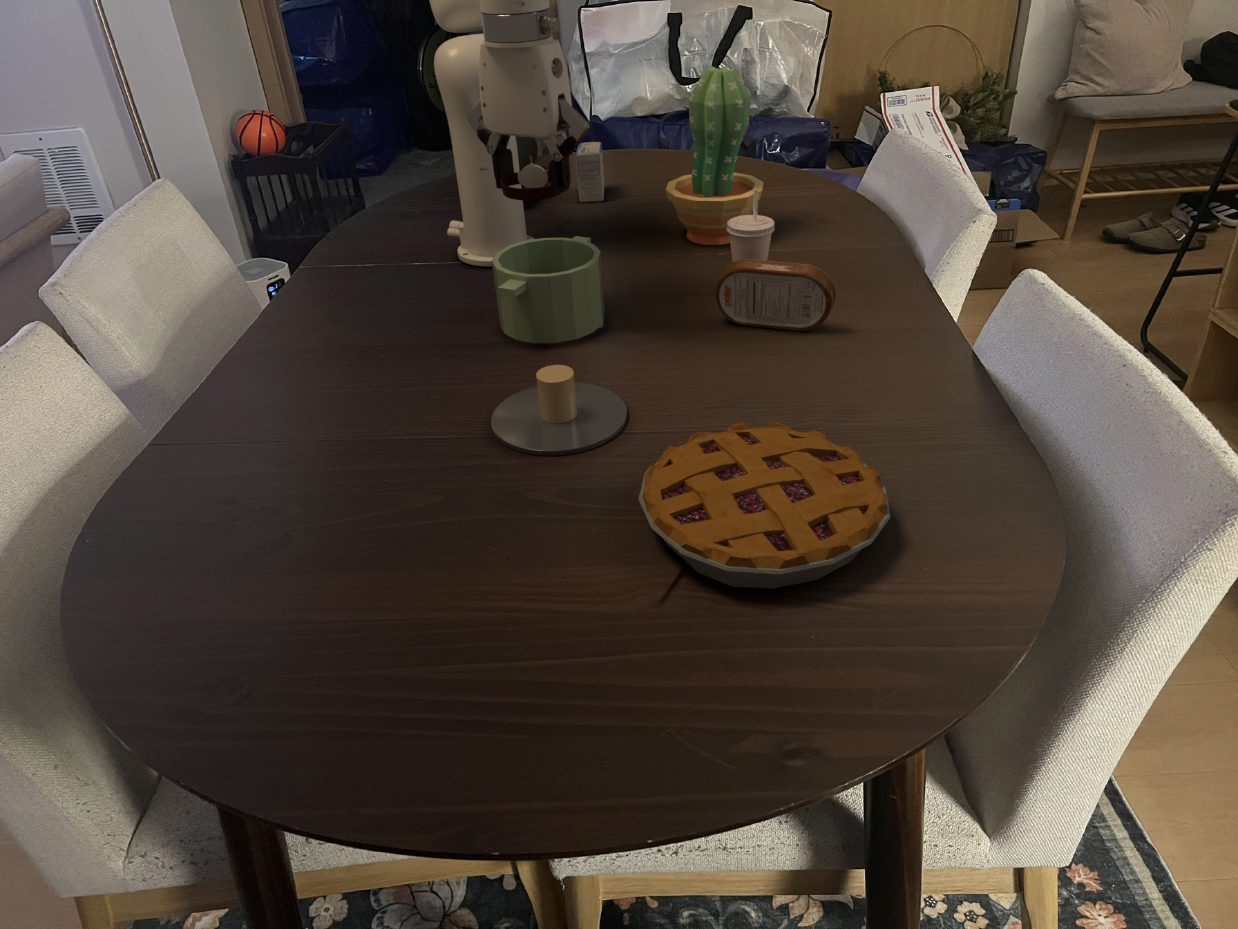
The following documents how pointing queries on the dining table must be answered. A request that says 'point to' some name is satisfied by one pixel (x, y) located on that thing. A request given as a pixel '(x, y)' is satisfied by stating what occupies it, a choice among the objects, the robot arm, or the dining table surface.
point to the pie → (764, 504)
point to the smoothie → (750, 235)
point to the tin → (775, 294)
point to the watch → (527, 184)
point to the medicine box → (590, 172)
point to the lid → (558, 415)
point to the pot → (549, 289)
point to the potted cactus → (715, 159)
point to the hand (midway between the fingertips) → (532, 187)
